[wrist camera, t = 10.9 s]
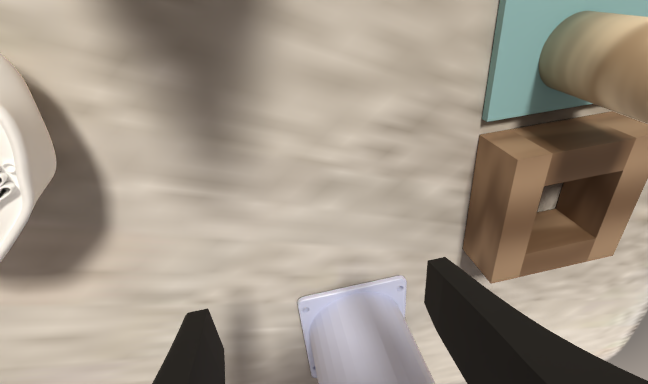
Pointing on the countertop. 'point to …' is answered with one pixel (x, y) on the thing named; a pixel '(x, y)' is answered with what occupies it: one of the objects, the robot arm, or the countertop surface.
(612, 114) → the walnut block
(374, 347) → the robot arm
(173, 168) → the countertop surface
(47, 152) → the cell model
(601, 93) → the maple plug
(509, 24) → the teal mat
